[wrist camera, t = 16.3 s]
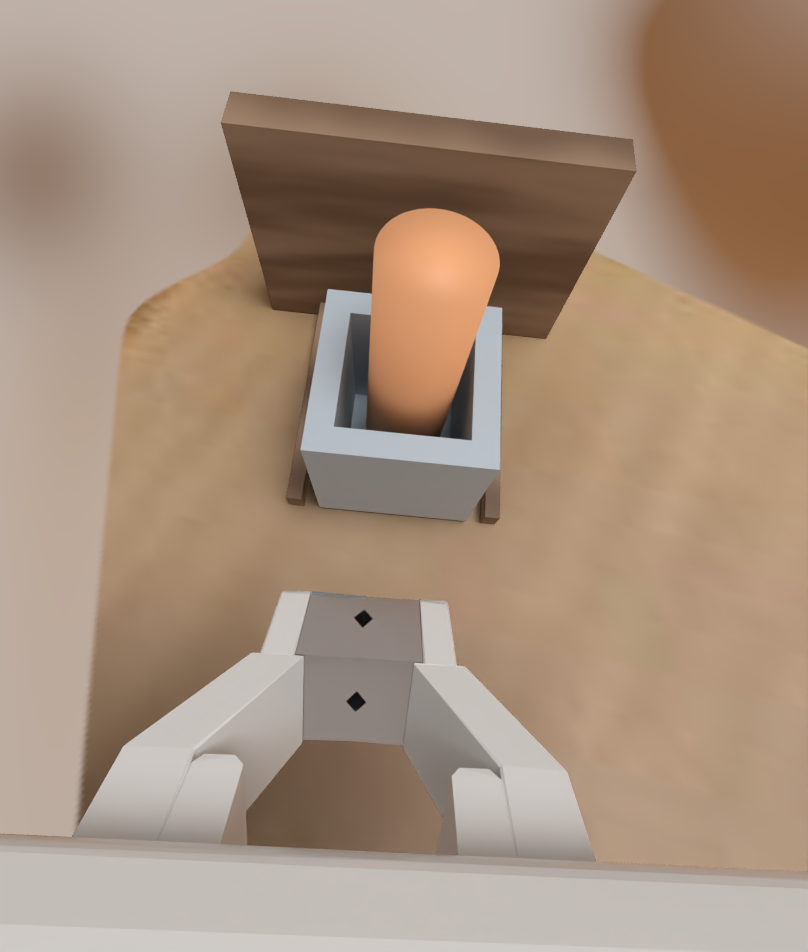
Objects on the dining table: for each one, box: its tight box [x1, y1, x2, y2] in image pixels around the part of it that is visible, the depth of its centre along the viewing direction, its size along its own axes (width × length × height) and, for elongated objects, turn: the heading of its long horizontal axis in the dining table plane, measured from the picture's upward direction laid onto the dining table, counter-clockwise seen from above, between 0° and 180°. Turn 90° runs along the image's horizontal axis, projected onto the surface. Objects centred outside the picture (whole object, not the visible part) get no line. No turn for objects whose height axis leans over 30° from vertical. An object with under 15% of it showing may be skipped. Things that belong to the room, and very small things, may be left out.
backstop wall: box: [221, 92, 636, 524], centre depth 25 cm, size 15×18×12 cm
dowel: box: [366, 208, 500, 437], centre depth 22 cm, size 4×4×14 cm
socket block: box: [300, 289, 502, 521], centre depth 26 cm, size 8×8×8 cm
